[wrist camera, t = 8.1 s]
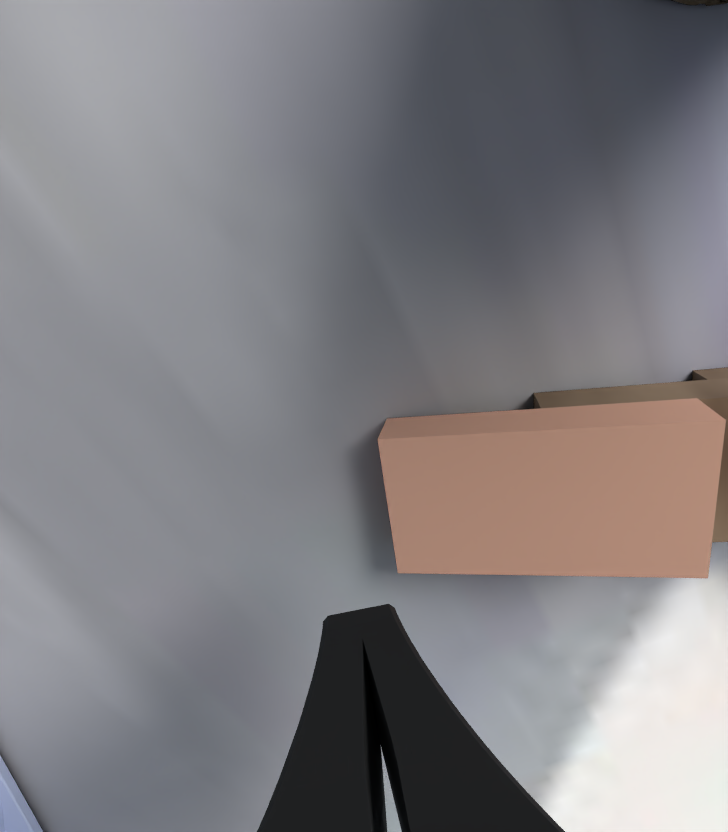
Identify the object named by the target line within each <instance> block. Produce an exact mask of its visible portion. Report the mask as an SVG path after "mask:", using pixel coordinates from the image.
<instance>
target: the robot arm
mask: <svg viewBox="0 0 728 832" xmlns="http://www.w3.org/2000/svg"><path fill="white" fill-rule="evenodd" d="M381 747H382V752H383V756H384V760H385V764H386V768H387V772H388V776H389V780H390V785H391V789H392V793H393V797H394V801H395V805H396V809H397V813H398V817H399V822H400V826H401V830H402V832H565V831H564V830H563V829H562V828H561V827H560V826H559V825H558V824H557V823H556V822H555V821H554V820H553V819H552V818H551V817H550V816H549V815H548V814H547V813H546V812H545V811H544V810H543V808H542V807H541V806H540V805H539V804H538V803H537V802H536V801H535V800H534V799H533V798H532V797H531V796H530V795H529V794H528V793H527V792H526V790H525V789H524V788H523V787H522V786H521V785H520V784H519V783H518V782H517V780H516V779H515V778H514V777H513V776H512V775H511V774H510V773H509V772H508V770H507V769H506V768H505V767H504V766H503V765H502V764H501V762H500V761H499V760H498V759H497V758H496V757H495V755H494V754H493V753H492V752H491V751H490V750H489V748H488V747H487V746H486V745H485V744H484V742H483V741H482V740H481V739H480V737H479V736H478V735H477V734H476V732H475V731H474V730H473V729H472V727H471V726H470V725H469V724H468V722H467V721H466V720H465V719H464V717H463V716H462V715H461V713H460V712H459V711H458V709H457V708H456V707H455V705H454V704H453V703H452V701H451V700H450V699H449V697H448V696H447V695H446V693H445V692H444V690H443V689H442V687H441V686H440V685H439V683H438V682H437V680H436V679H435V677H434V676H433V675H432V673H431V672H430V670H429V669H428V667H427V666H426V664H425V663H424V661H423V660H422V658H421V657H420V655H419V653H418V652H417V650H416V648H415V647H414V645H413V643H412V642H411V640H410V638H409V636H408V635H407V633H406V631H405V629H404V627H403V625H402V623H401V621H400V619H399V617H398V615H397V613H396V610H395V608H394V607H393V606H391V605H389V604H386V605H381V606H376V607H370V608H365V609H360V610H355V611H350V612H345V613H340V614H335V615H329V616H327V618H326V619H325V620H324V621H323V629H322V636H321V642H320V648H319V652H318V657H317V661H316V665H315V669H314V673H313V677H312V681H311V685H310V688H309V691H308V695H307V698H306V702H305V705H304V708H303V712H302V715H301V718H300V721H299V724H298V727H297V730H296V733H295V736H294V739H293V742H292V744H291V747H290V750H289V753H288V756H287V758H286V761H285V764H284V767H283V770H282V772H281V775H280V778H279V780H278V783H277V785H276V788H275V790H274V793H273V795H272V798H271V800H270V803H269V805H268V808H267V810H266V813H265V815H264V817H263V820H262V822H261V824H260V826H259V829H258V831H257V832H387V823H386V809H385V796H384V783H383V769H382V756H381ZM0 832H43V831H42V829H41V827H40V825H39V823H38V822H37V820H36V818H35V816H34V814H33V813H32V811H31V809H30V807H29V806H28V804H27V802H26V800H25V798H24V797H23V795H22V793H21V791H20V790H19V788H18V786H17V784H16V782H15V781H14V779H13V777H12V775H11V773H10V772H9V770H8V768H7V766H6V765H5V763H4V761H3V759H2V757H1V756H0Z"/></svg>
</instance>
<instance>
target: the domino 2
mask: <svg viewBox="0 0 728 832" xmlns="http://www.w3.org/2000/svg"><path fill="white" fill-rule="evenodd" d="M691 398H698V399H699V400H700V401H701V402H703V403H704V404H705V405H707V406H708V407H709V408H711V409H712V410H713V411H715V412H716V413H717V414H719V415H720V416H721V417H723V418H724V419H725V420H726V424H725V433H724V442H723V451H722V459H721V468H720V477H719V485H718V494H717V503H716V511H715V520H714V529H713V538H712V542H728V378H722V379H709V380H696V381H683V382H670V383H657V384H644V385H631V386H618V387H605V388H592V389H579V390H566V391H553V392H540V393H534V409H539V408H554V407H570V406H585V405H600V404H615V403H631V402H646V401H661V400H676V399H691Z"/></svg>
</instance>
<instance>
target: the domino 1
mask: <svg viewBox="0 0 728 832" xmlns="http://www.w3.org/2000/svg"><path fill="white" fill-rule="evenodd" d="M725 424H726V420H725V419H724V418H723V417H721V416H720V415H719V414H717V413H716V412H715V411H713V410H712V409H711V408H709V407H708V406H707V405H705V404H704V403H703V402H701V401H700V400H699V399H698V398H691V399H676V400H661V401H646V402H631V403H615V404H600V405H585V406H570V407H554V408H539V409H524V410H509V411H494V412H478V413H463V414H448V415H433V416H417V417H402V418H387V419H386V422H385V424H384V426H383V428H382V430H381V433H380V435H379V437H378V445H379V452H380V459H381V465H382V472H383V478H384V485H385V492H386V498H387V505H388V511H389V518H390V524H391V531H392V538H393V544H394V551H395V557H396V564H397V570H398V573H419V574H482V575H544V576H606V577H669V578H708V572H709V564H710V555H711V546H712V538H713V529H714V520H715V511H716V503H717V494H718V485H719V477H720V468H721V459H722V451H723V442H724V433H725Z"/></svg>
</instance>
